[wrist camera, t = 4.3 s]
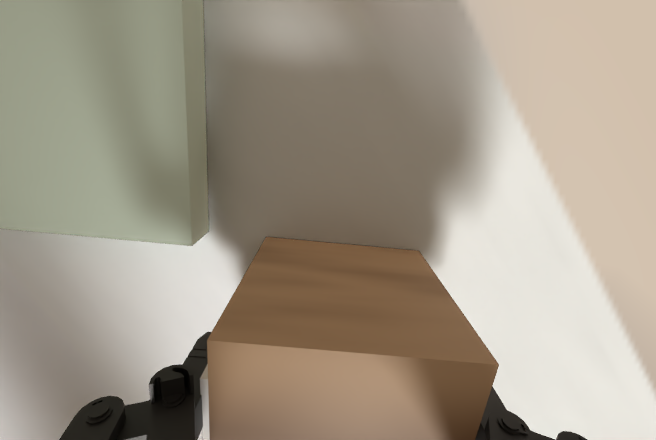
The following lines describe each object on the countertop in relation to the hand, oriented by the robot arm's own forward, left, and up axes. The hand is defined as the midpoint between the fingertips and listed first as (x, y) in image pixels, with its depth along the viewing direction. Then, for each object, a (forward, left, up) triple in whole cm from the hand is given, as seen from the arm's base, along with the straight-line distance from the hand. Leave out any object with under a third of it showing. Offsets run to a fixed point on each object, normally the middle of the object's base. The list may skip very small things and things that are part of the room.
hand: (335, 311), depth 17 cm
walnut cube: (0, 0, 0) cm, 0 cm away
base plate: (+10, +13, 0) cm, 16 cm away
